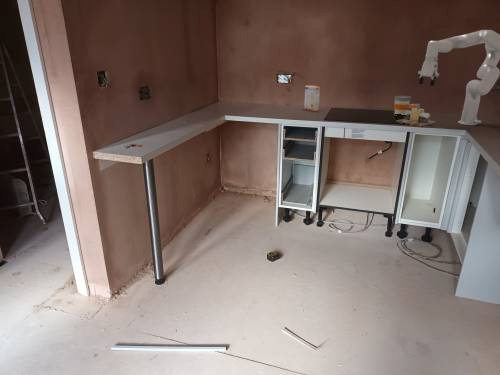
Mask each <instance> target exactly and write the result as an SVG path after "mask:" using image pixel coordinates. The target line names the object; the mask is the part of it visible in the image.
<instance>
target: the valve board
mask: <svg viewBox="0 0 500 375" xmlns="http://www.w3.org/2000/svg"><path fill="white" fill-rule="evenodd" d="M397 122H398V124H402V123H405V124H404V125H407V124H410V125H409V126H412V125H415V126H414V127H417V126H420V127H419V128H422V127H421V126H423V127H427V126H431V125H434V124H436V121H435V120H431V119H430V120H429V119H425V118H421V121H420V122H414V121H410V116H408V115H406V116H404V118H403V119H402V118H401V119H396V122H395V123H397Z"/></svg>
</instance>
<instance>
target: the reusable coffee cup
mask: <svg viewBox="0 0 500 375" xmlns="http://www.w3.org/2000/svg"><path fill="white" fill-rule="evenodd" d="M411 101H412V96H410V95H395V96H394V104H393V105H394V106H393V109H394V115H395V114H401V115H405V111H406V110H409V109H410V108H409V105H410V104H411V103H410V102H411Z"/></svg>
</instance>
